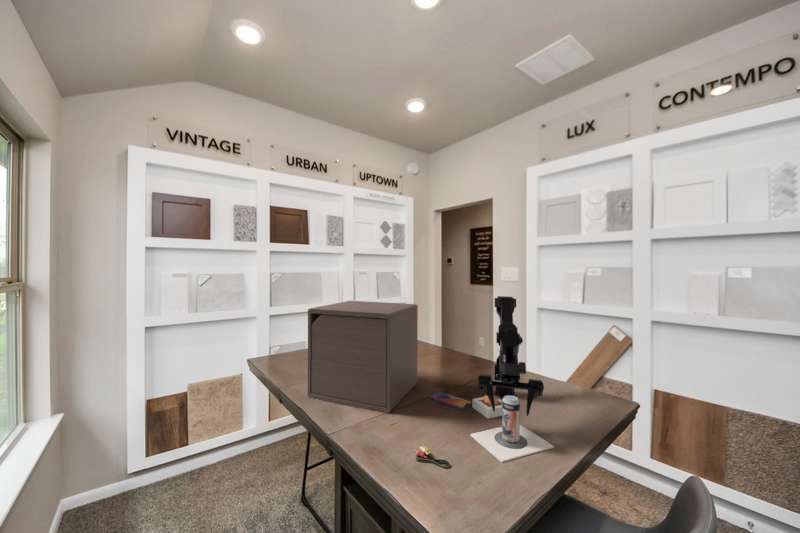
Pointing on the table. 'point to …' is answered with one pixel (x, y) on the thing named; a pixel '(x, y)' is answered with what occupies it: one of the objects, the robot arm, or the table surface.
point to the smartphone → (451, 400)
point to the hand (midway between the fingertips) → (510, 413)
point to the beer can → (510, 418)
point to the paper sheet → (511, 444)
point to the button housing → (487, 408)
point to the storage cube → (362, 353)
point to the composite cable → (429, 457)
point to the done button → (487, 401)
